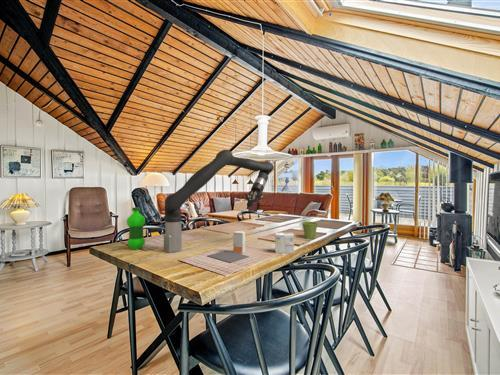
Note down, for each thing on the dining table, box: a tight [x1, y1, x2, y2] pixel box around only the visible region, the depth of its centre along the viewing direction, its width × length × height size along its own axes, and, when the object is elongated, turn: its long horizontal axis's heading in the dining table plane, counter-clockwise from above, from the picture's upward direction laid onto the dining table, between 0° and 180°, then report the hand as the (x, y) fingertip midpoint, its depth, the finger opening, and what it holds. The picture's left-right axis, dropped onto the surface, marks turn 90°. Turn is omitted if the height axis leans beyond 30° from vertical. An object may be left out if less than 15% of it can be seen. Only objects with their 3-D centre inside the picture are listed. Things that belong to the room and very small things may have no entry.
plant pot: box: [301, 221, 319, 240], centre depth 184 cm, size 12×12×11 cm
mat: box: [207, 250, 250, 264], centre depth 137 cm, size 14×18×1 cm
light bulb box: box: [274, 232, 295, 255], centre depth 146 cm, size 11×7×11 cm, turn 84°
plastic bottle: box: [126, 206, 146, 250], centre depth 155 cm, size 10×10×25 cm
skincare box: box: [232, 230, 246, 255], centre depth 145 cm, size 6×4×12 cm
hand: (249, 206), depth 154 cm, fingers closed
